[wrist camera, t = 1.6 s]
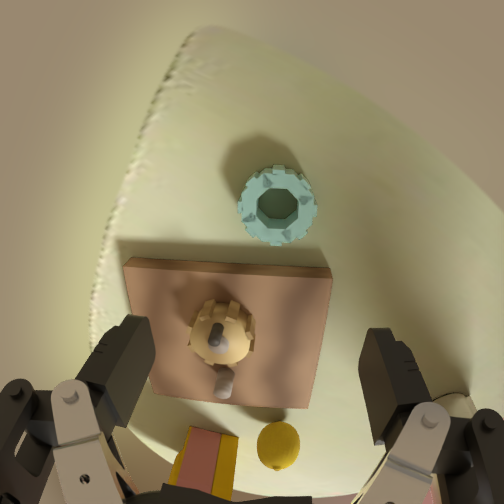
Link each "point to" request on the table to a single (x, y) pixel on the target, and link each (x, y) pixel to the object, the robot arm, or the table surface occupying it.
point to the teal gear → (277, 228)
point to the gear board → (258, 295)
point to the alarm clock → (206, 463)
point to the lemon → (278, 445)
